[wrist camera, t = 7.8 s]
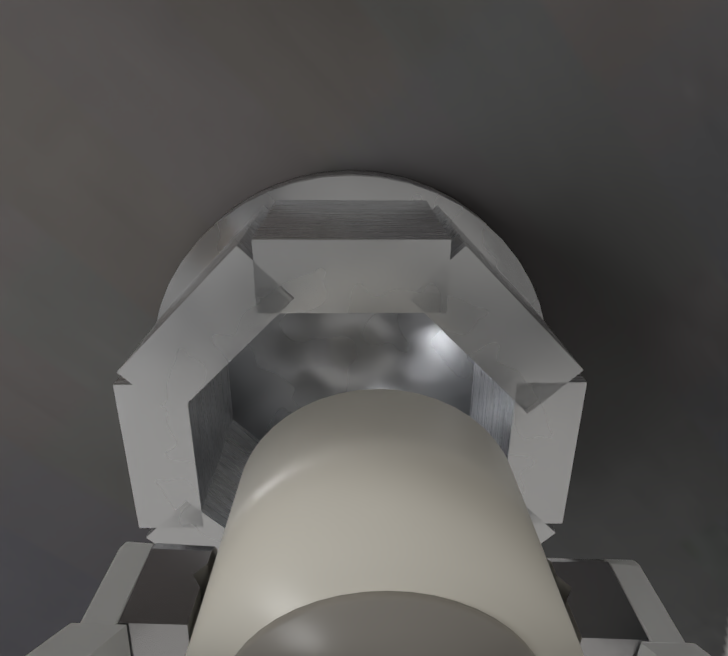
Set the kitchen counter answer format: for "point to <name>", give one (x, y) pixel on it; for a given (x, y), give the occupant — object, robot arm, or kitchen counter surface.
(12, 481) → the kitchen counter surface
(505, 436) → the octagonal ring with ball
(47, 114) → the kitchen counter surface
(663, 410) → the kitchen counter surface
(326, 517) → the cap
